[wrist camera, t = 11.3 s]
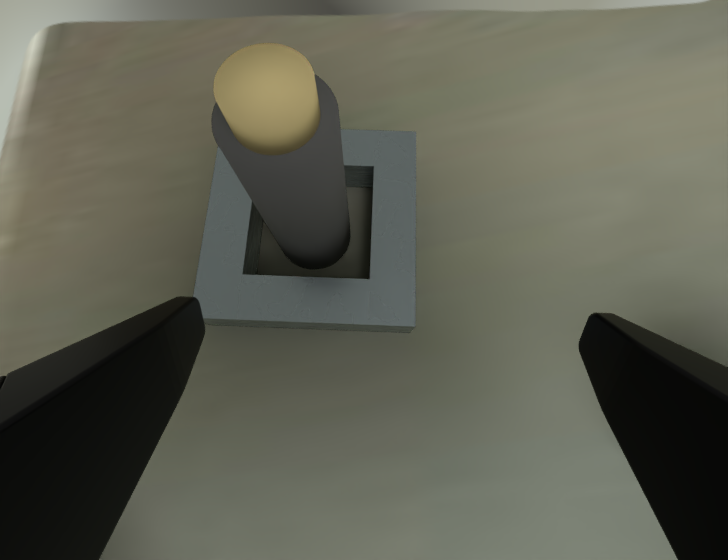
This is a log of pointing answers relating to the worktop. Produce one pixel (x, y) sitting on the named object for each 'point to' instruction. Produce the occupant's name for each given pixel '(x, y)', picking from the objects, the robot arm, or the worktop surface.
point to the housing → (316, 294)
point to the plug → (285, 149)
